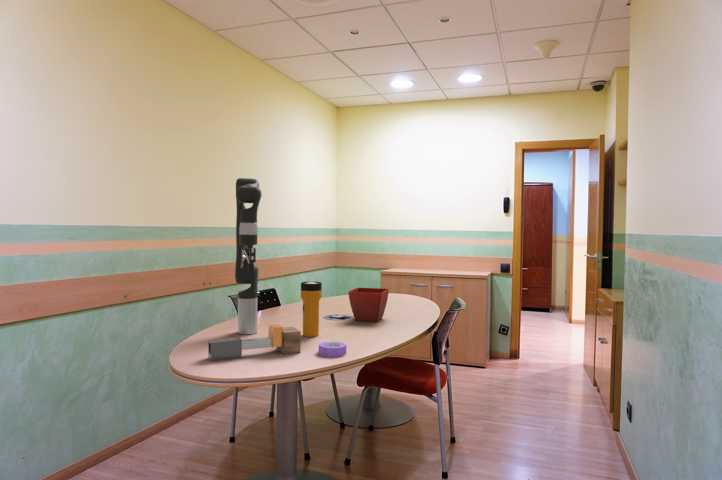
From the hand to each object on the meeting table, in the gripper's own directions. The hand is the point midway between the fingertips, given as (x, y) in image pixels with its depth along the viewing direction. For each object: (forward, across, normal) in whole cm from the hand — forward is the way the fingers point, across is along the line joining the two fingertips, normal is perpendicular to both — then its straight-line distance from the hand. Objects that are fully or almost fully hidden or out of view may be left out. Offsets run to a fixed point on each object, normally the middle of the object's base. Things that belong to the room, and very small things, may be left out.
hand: (248, 271), depth 212 cm
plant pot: (+33, -36, +79) cm, 93 cm away
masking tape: (+34, +22, +30) cm, 50 cm away
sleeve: (+33, +11, -12) cm, 37 cm away
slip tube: (+30, +11, +3) cm, 32 cm away
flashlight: (+33, -12, +34) cm, 49 cm away
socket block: (+33, +11, +14) cm, 38 cm away
